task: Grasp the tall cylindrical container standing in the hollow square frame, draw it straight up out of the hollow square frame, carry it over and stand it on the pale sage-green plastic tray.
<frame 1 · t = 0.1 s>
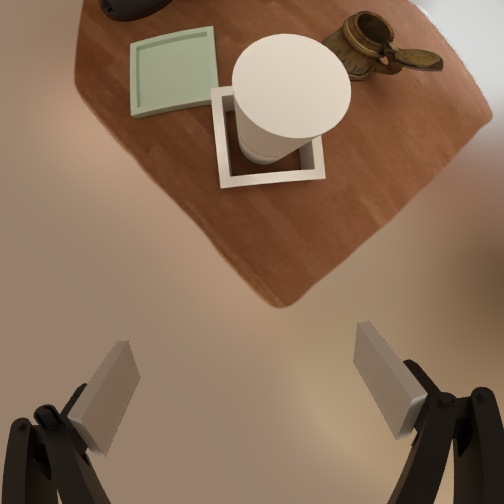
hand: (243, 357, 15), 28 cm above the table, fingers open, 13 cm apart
hollow square frame: (263, 140, 38), on the table
wooden mug: (353, 68, 36), on the table
cylindrical container: (263, 140, 39), resting in hollow square frame
tray: (175, 72, 35), on the table
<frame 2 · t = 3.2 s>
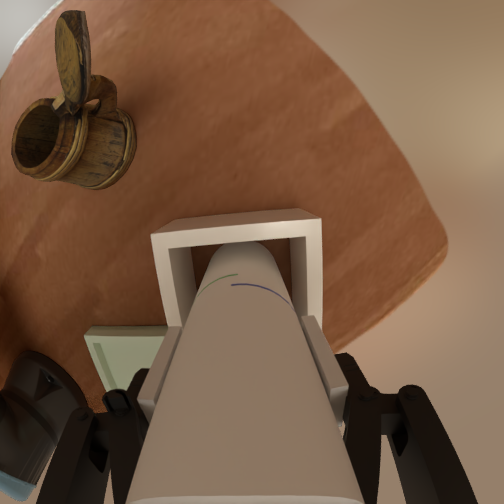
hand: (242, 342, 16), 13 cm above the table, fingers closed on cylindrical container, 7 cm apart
hollow square frame: (242, 273, 29), on the table
wooden mug: (116, 135, 25), on the table
cylindrical container: (242, 272, 29), resting in hollow square frame, touching gripper
tray: (150, 369, 32), on the table
when the fingers open (16 cm above the table, at t = 9.2 s): cylindrical container drops 1 cm, resting on tray.
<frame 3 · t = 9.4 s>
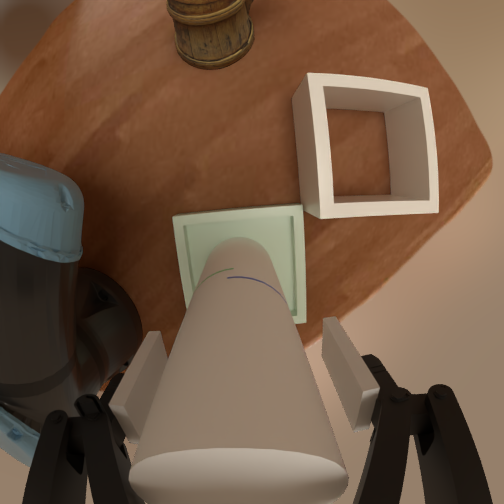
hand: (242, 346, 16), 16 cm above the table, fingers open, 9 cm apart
hollow square frame: (350, 151, 29), on the table
wooden mug: (231, 30, 25), on the table
cylindrical container: (239, 269, 31), point 1 cm above the table, touching tray
tray: (242, 266, 31), on the table
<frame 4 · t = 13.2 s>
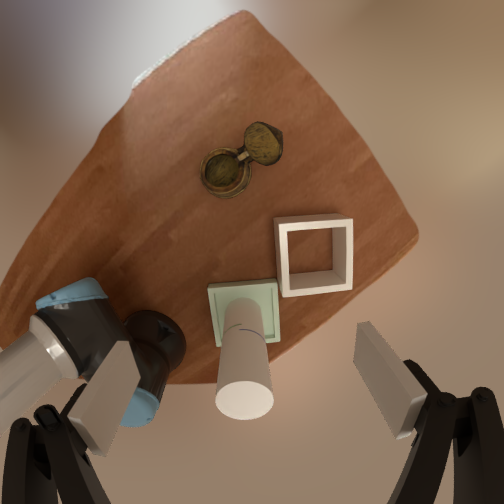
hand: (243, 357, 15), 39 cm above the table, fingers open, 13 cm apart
hollow square frame: (307, 247, 53), on the table
wooden mug: (237, 167, 50), on the table
cylindrical container: (243, 313, 55), point 1 cm above the table, touching tray
tray: (245, 311, 56), on the table
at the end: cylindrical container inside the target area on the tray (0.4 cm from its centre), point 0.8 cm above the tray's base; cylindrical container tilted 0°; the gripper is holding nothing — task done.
